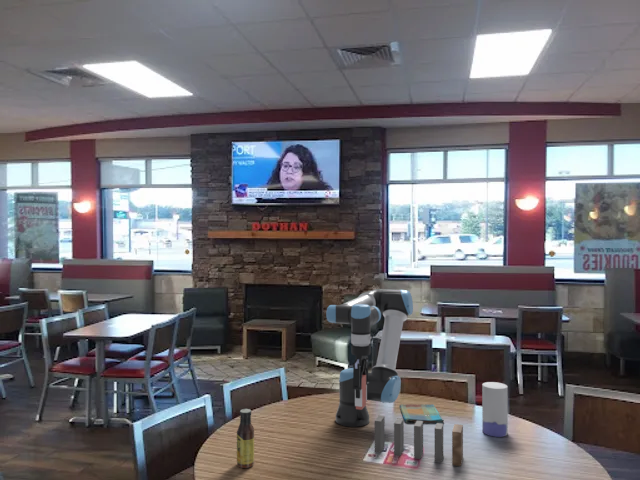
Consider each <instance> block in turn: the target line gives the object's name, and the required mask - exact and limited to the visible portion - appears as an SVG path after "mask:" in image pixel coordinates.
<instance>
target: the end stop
mask: <svg viewBox="0 0 640 480" xmlns="http://www.w3.org/2000/svg"><path fill="white" fill-rule="evenodd" d="M451 431H452V433H451V434H452V435H451V442H452V443H451V447H452V448H451V452H452V455H451V461H452V462H451V463H452V464H451V465H452V466H456V467H462V464H463V458H464V424H456V423H454V425H453V427H452V430H451Z"/></svg>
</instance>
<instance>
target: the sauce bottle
mask: <svg viewBox="0 0 640 480" xmlns="http://www.w3.org/2000/svg"><path fill="white" fill-rule="evenodd" d="M251 416H252V410H251V409H250V408H243V409H240V411H239V417H240V419H239V420H240V421H239V424H238V425H239V426H238V428H237V430H236V464H237V467H239V468H240V469H248V468H251V467H253V466H254V463H255V429H254V428H255V427H254V426H253V424H252V417H251Z"/></svg>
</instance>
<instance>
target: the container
mask: <svg viewBox="0 0 640 480" xmlns="http://www.w3.org/2000/svg"><path fill="white" fill-rule="evenodd" d="M481 385H482V391H481V393H482V394H481V395H482V397H481V401H482V403H481V404H482V408H481V409H482V413H481V414H482V419H481V420H482V421H481V422H482V426H481V427H482V433H484V434H485V435H487V436H490V437H497V438H499V437H501V438H503V437H507V435H508V425H509V424H508V422H509V421H508V419H509V418H508V416H509V415H508V414H509V413H508V412H509V410H508V409H509V408H508V407H509V406H508V405H509V404H508V399H509V398H508V394H509V393H508V392H509V391H508V385H507V384H505V383H501V382H496V381H486V382H483V383H482V384H481Z"/></svg>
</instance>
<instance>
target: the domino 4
mask: <svg viewBox="0 0 640 480" xmlns="http://www.w3.org/2000/svg"><path fill="white" fill-rule="evenodd" d="M443 458H444V424H442V423H437V424H435V426H434V462H437V463H438V462H439V463H442V462H443Z"/></svg>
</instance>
